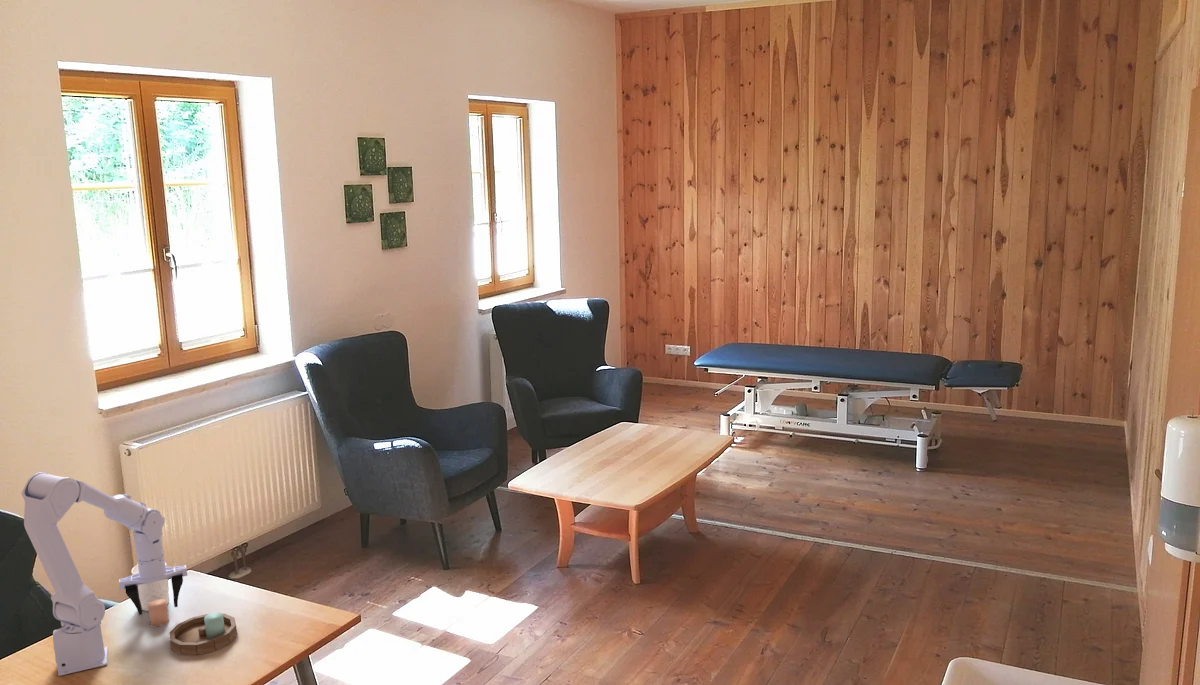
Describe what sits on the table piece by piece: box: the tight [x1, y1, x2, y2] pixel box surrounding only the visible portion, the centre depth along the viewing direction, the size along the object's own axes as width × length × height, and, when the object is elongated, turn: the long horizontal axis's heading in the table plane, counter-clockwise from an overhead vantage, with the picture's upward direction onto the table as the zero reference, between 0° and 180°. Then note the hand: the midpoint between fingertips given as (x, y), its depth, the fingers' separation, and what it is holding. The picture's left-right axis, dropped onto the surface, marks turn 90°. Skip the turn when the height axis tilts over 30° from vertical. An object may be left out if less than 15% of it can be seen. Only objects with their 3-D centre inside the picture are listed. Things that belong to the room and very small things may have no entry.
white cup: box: [131, 561, 170, 612], centre depth 237 cm, size 8×8×10 cm
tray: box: [169, 613, 238, 656], centre depth 221 cm, size 14×14×2 cm
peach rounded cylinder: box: [148, 599, 170, 627], centre depth 229 cm, size 4×4×5 cm
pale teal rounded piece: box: [204, 611, 225, 640], centre depth 219 cm, size 4×4×5 cm
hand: (158, 609), depth 228 cm, fingers open, 7 cm apart
